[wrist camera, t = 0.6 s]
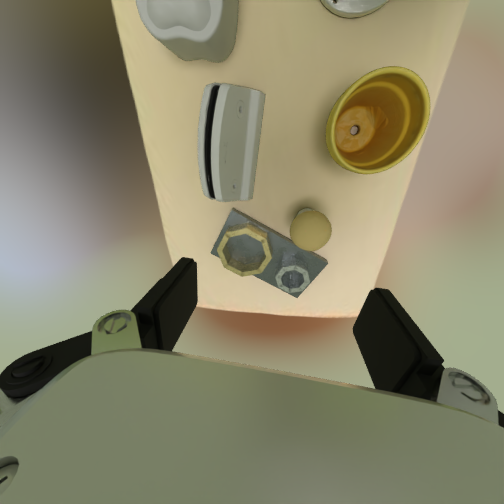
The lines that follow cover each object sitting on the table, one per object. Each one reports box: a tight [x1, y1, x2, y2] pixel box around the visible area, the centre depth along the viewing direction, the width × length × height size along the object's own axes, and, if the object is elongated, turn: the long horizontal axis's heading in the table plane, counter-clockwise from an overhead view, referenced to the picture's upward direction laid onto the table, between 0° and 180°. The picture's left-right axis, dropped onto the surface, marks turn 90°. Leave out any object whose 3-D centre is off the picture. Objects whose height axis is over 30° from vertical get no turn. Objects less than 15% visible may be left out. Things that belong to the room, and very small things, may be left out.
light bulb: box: [290, 208, 332, 251], centre depth 34 cm, size 6×6×10 cm
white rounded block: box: [198, 83, 265, 202], centre depth 31 cm, size 17×5×10 cm, turn 173°
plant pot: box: [326, 66, 430, 174], centre depth 27 cm, size 10×10×10 cm
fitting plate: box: [211, 208, 328, 298], centre depth 42 cm, size 11×22×4 cm, turn 62°
